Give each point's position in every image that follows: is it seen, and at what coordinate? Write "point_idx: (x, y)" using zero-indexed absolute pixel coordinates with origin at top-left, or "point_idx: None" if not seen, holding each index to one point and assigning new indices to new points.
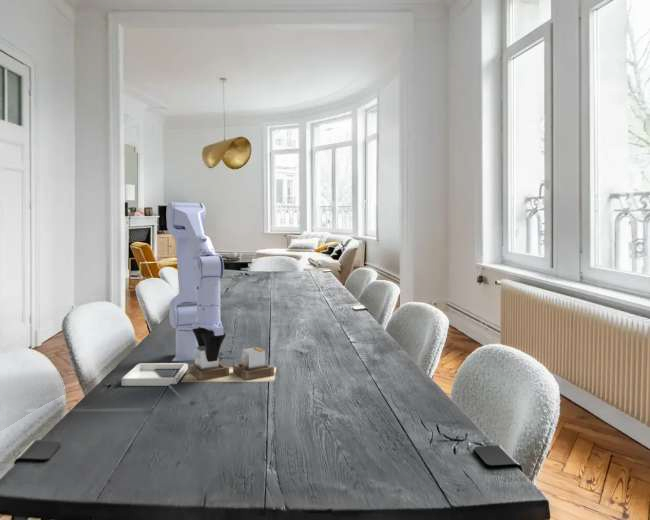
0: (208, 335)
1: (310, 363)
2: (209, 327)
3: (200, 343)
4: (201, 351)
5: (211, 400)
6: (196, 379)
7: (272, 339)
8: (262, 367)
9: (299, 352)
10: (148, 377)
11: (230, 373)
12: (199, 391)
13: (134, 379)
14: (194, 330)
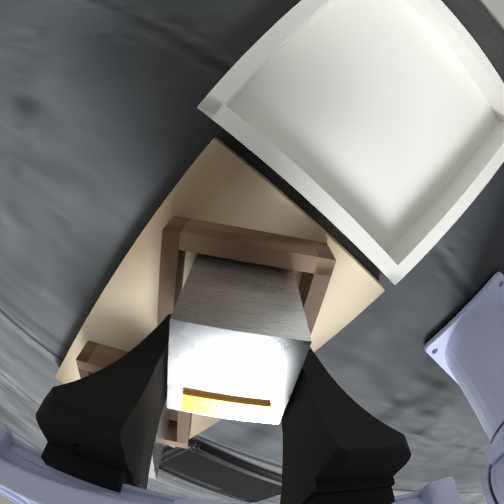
0: (37, 421)
1: (185, 483)
2: (18, 482)
3: (305, 390)
4: (170, 322)
5: (15, 169)
6: (197, 214)
7: (393, 492)
8: None
9: (257, 501)
10: (406, 76)
11: None
12: (103, 172)
13: None
14: (350, 455)
